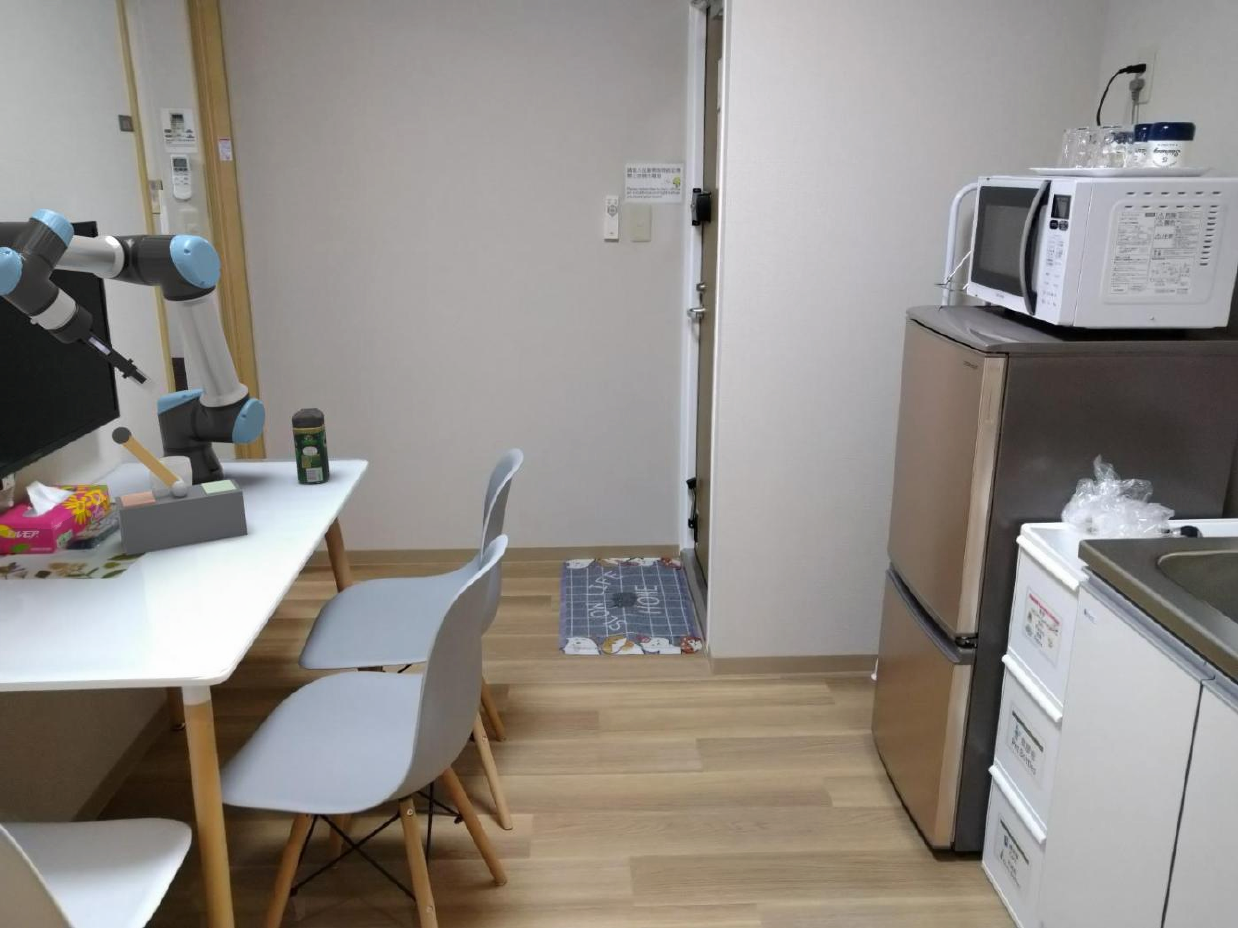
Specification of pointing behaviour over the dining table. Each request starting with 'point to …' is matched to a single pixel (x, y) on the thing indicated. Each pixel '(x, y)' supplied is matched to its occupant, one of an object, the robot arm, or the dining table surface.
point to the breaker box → (180, 517)
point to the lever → (149, 461)
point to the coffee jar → (310, 446)
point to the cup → (173, 471)
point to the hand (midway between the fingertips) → (152, 388)
